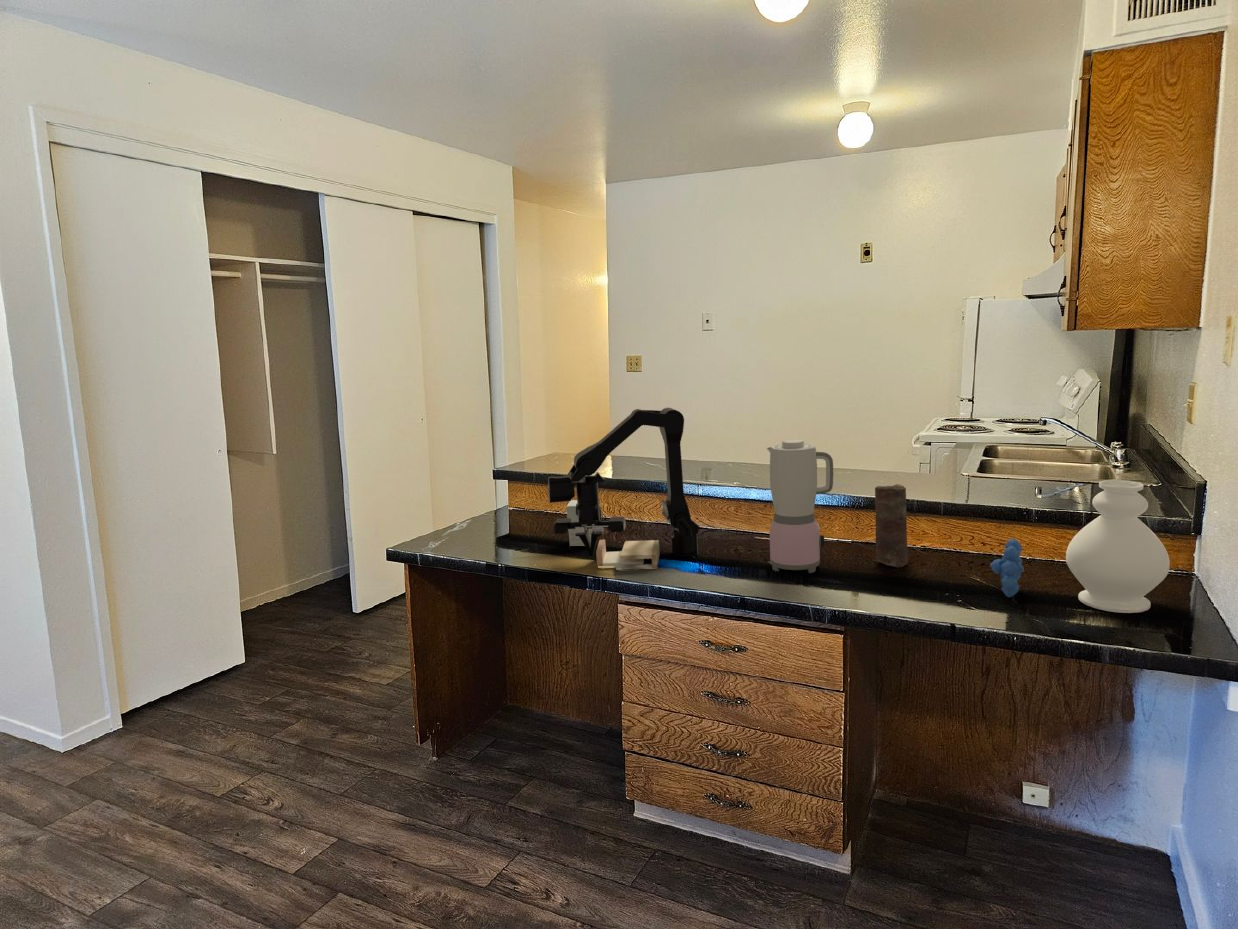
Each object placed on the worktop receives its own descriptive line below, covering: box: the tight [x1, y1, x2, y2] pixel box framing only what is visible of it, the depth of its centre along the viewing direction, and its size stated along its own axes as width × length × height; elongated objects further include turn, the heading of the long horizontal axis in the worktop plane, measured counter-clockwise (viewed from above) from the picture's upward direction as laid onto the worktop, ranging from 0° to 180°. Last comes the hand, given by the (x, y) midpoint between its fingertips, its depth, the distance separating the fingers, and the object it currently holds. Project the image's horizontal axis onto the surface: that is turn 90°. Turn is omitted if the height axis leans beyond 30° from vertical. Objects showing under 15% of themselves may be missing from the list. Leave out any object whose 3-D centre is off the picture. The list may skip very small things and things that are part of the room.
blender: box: [766, 439, 834, 574], centre depth 188 cm, size 16×12×32 cm
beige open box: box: [614, 539, 660, 570], centre depth 202 cm, size 11×13×4 cm
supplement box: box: [565, 499, 593, 547], centre depth 221 cm, size 7×7×13 cm
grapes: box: [989, 538, 1025, 598], centre depth 165 cm, size 12×7×12 cm, turn 147°
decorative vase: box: [1065, 479, 1171, 614], centre depth 156 cm, size 18×18×25 cm
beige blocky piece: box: [595, 539, 645, 567], centre depth 203 cm, size 12×10×5 cm
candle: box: [874, 483, 908, 568], centre depth 188 cm, size 8×7×20 cm
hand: (591, 556), depth 204 cm, fingers closed
